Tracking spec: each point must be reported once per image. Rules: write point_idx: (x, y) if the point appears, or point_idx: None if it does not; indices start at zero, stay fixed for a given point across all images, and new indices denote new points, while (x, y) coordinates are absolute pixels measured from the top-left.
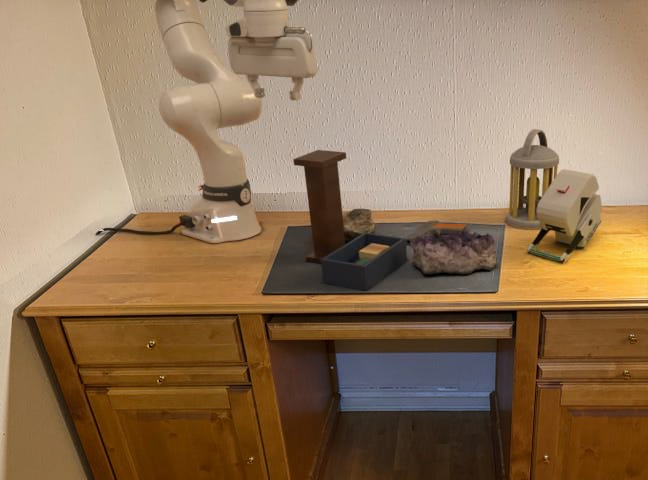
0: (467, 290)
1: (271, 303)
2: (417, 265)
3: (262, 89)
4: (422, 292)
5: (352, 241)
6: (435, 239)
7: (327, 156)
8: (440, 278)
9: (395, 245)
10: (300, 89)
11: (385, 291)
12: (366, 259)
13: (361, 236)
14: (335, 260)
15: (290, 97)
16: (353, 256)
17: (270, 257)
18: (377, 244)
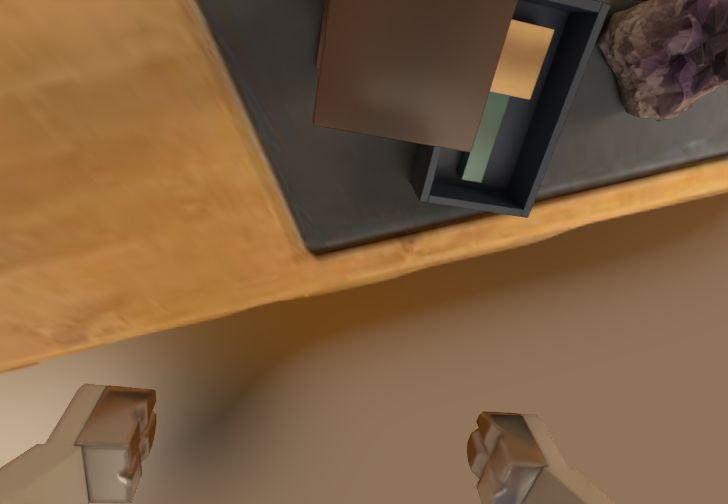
0: (704, 149)
1: (349, 282)
2: (611, 65)
3: (133, 457)
4: (616, 178)
5: None
6: (707, 72)
7: (465, 39)
8: None
9: (584, 70)
10: (581, 477)
11: (544, 190)
12: (498, 103)
13: None
14: (455, 200)
15: (475, 468)
16: None
17: (206, 60)
18: (520, 24)
